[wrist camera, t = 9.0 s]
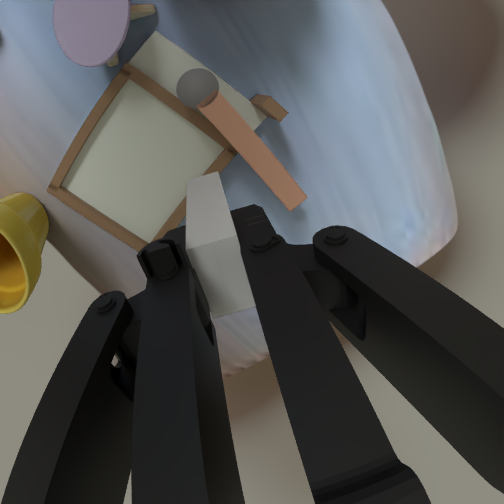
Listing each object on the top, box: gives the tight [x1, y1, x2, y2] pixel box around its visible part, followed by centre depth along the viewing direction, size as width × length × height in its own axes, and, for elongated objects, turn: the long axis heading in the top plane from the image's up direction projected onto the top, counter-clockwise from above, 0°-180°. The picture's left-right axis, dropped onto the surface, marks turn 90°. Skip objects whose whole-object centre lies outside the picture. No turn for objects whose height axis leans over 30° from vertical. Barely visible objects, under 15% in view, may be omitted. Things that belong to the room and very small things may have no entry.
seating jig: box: [47, 31, 288, 251], centre depth 25 cm, size 13×19×6 cm
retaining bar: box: [176, 68, 308, 211], centre depth 25 cm, size 15×3×2 cm, turn 40°
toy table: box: [53, 0, 156, 67], centre depth 18 cm, size 10×9×6 cm
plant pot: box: [0, 192, 49, 314], centre depth 24 cm, size 10×10×10 cm
